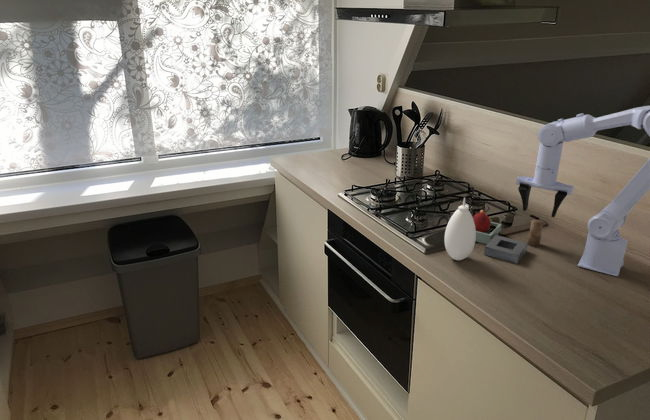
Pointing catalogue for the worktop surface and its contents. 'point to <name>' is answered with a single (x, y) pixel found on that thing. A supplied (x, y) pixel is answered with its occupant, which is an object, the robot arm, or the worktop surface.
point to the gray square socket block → (506, 249)
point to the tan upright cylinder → (535, 233)
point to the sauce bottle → (460, 233)
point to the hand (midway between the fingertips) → (539, 212)
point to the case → (488, 237)
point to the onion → (481, 222)
